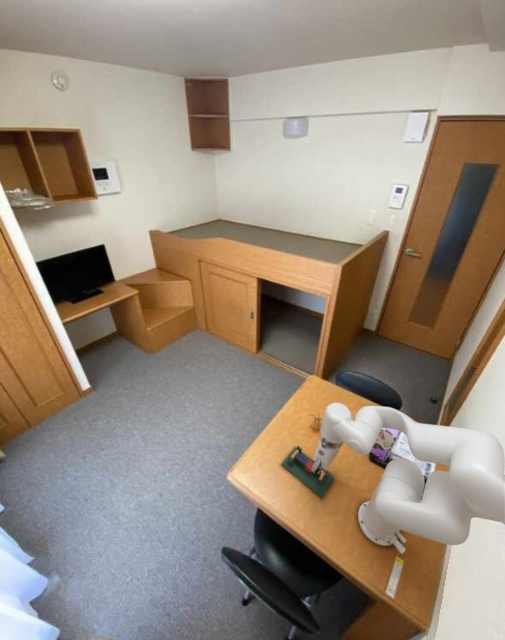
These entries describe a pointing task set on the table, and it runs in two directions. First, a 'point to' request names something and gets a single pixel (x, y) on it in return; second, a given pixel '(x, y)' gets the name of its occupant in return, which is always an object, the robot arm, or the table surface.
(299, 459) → the toy soldier
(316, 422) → the figurine
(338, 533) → the table surface
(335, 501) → the table surface
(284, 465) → the stand
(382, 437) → the candy box
